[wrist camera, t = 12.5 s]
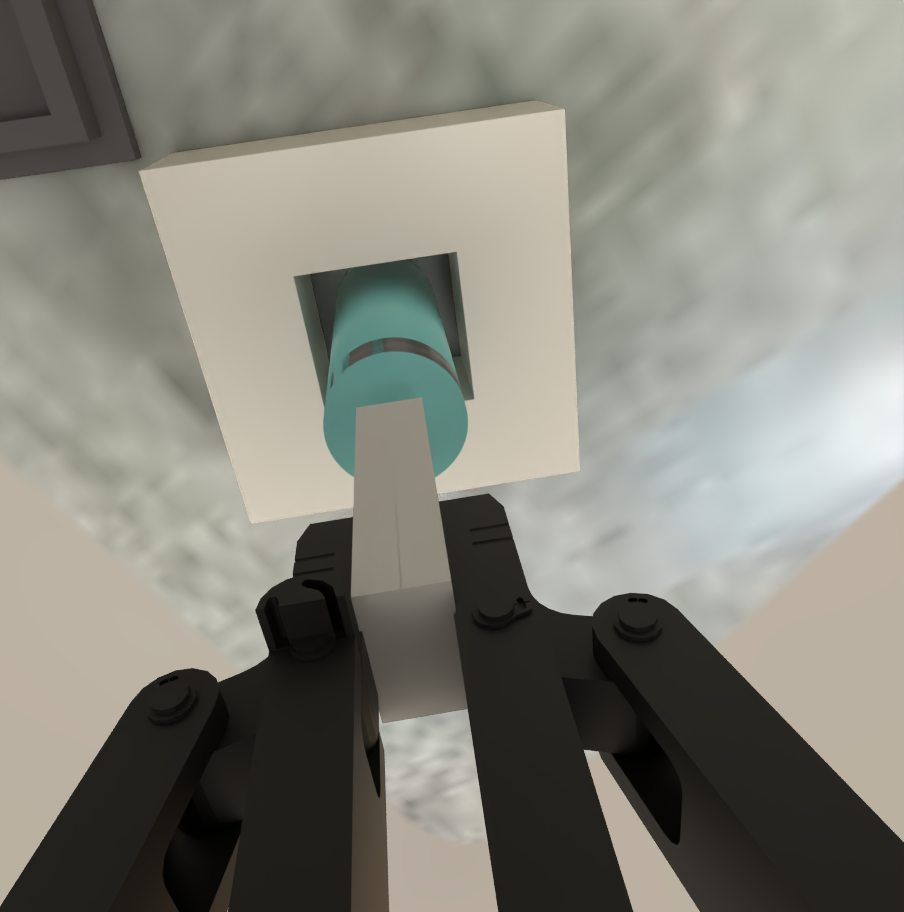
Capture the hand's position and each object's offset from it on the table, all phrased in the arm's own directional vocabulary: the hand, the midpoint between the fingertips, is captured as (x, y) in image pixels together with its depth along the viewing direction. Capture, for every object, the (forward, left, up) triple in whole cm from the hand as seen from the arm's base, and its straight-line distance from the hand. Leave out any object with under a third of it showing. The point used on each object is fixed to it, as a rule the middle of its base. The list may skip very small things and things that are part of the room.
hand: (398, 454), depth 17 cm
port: (0, 0, -11) cm, 11 cm away
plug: (0, 0, -11) cm, 11 cm away
